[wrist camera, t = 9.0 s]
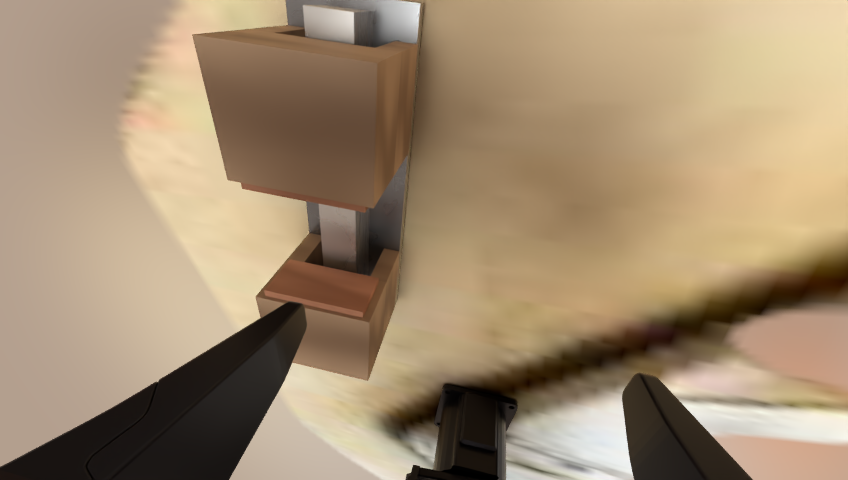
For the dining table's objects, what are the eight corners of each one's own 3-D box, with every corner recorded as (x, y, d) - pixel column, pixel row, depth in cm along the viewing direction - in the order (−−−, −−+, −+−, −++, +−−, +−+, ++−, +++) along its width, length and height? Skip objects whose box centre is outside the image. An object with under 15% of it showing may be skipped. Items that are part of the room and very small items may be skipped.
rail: (397, 298, 25) (385, 332, 23) (320, 281, 26) (299, 312, 23) (424, 3, 15) (407, 3, 12) (293, -15, 15) (250, -18, 13)
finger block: (407, 160, 18) (373, 217, 13) (300, 141, 19) (229, 188, 14) (417, 44, 15) (377, 62, 10) (289, 25, 16) (192, 34, 11)
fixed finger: (394, 306, 25) (368, 380, 20) (315, 289, 25) (270, 357, 20) (399, 246, 22) (369, 317, 17) (309, 227, 22) (254, 291, 17)
